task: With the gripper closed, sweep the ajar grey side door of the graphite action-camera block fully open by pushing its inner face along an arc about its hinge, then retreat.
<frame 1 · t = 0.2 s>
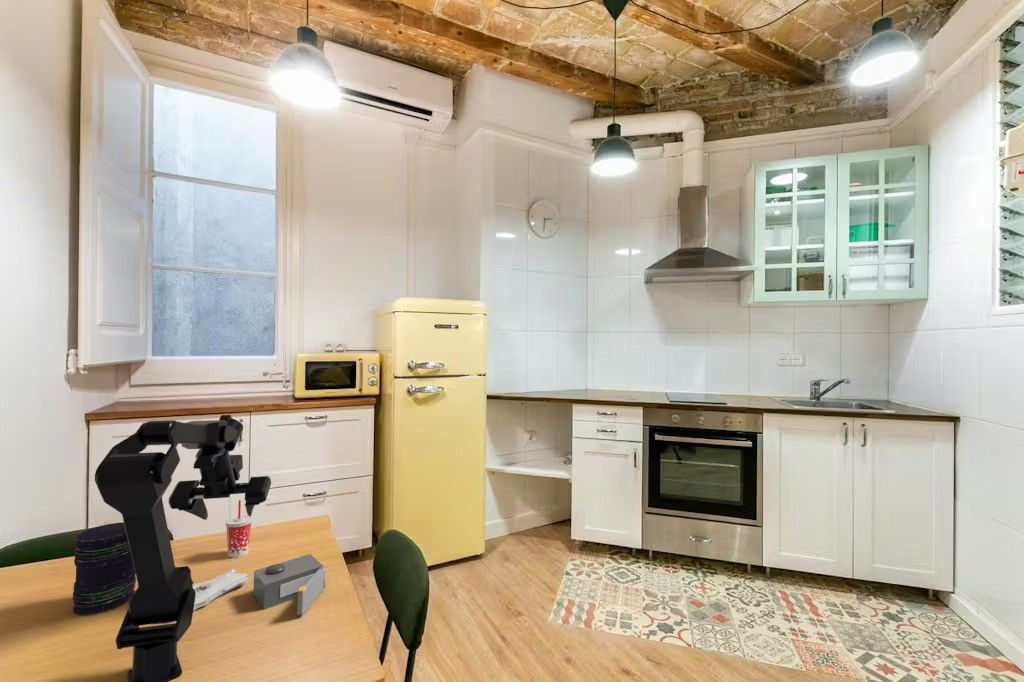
hand: (228, 516, 103), 15 cm above the table, tool tilted 30°, fingers open, 9 cm apart
dark blue cylinder: (104, 603, 93), on the table
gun: (196, 602, 95), on the table
beverage cup: (238, 554, 116), on the table
side door: (312, 588, 94), point 3 cm above the table, hinge at 45.0°
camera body: (288, 590, 98), on the table
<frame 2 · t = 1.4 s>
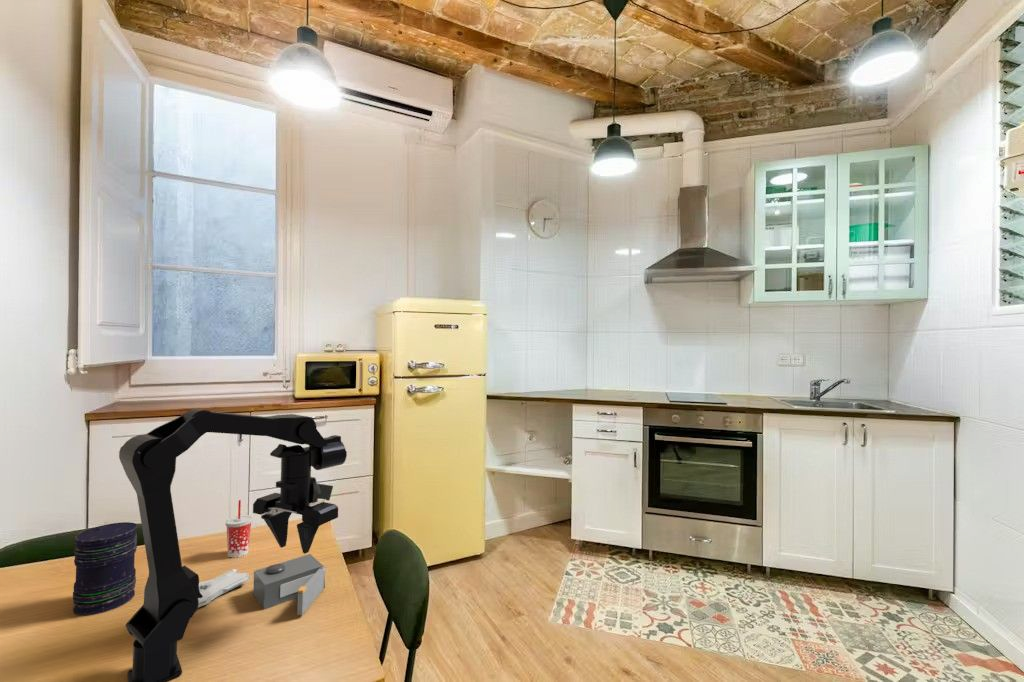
hand: (294, 549, 92), 12 cm above the table, tool pointing down, fingers open, 6 cm apart
nothing on the table moved.
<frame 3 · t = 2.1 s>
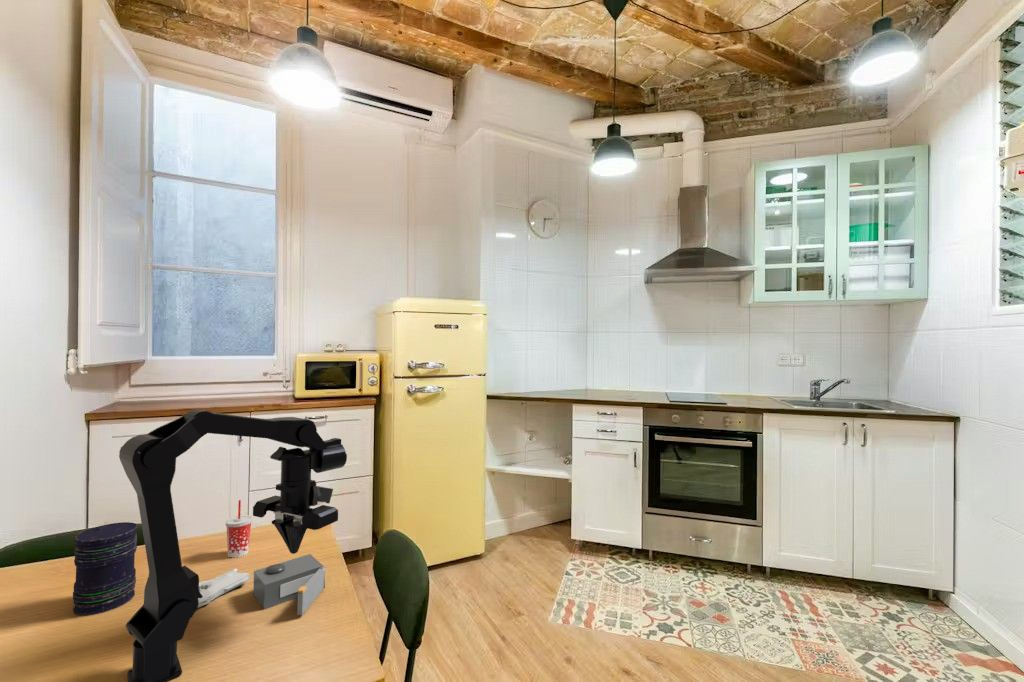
hand: (294, 552, 92), 11 cm above the table, tool pointing down, fingers closed
nothing on the table moved.
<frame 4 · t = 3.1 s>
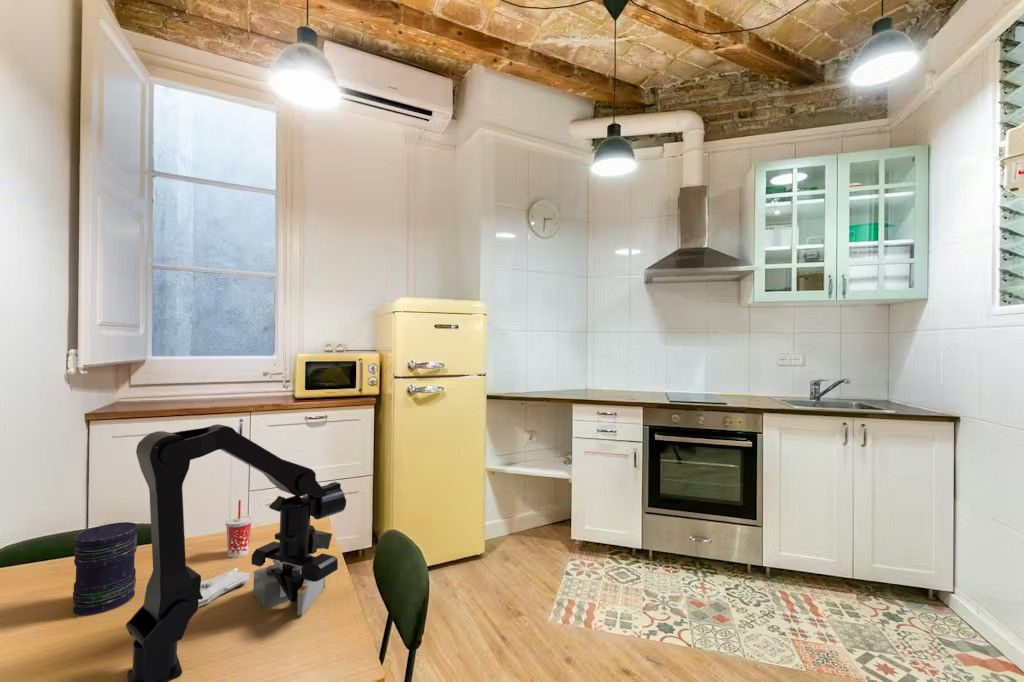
hand: (293, 601, 92), 1 cm above the table, tool pointing down, fingers closed
side door: (312, 588, 94), point 3 cm above the table, hinge at 45.1°, touching gripper
everything else where it was.
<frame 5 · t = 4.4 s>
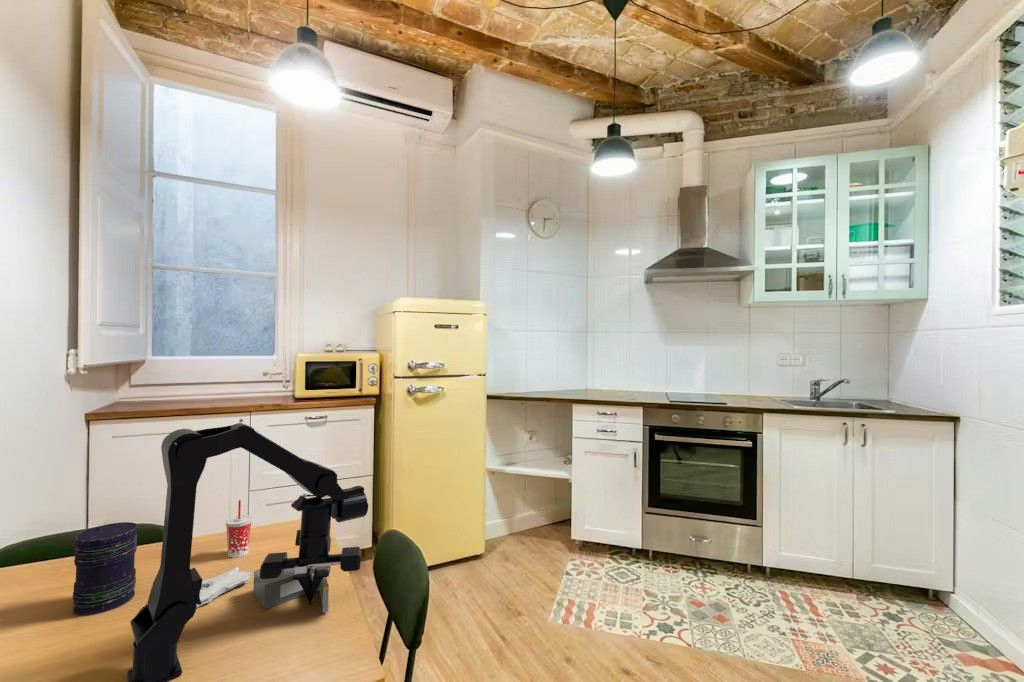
hand: (310, 604, 91), 1 cm above the table, tool pointing down, fingers closed
side door: (323, 587, 95), point 3 cm above the table, hinge at 72.4°, touching gripper
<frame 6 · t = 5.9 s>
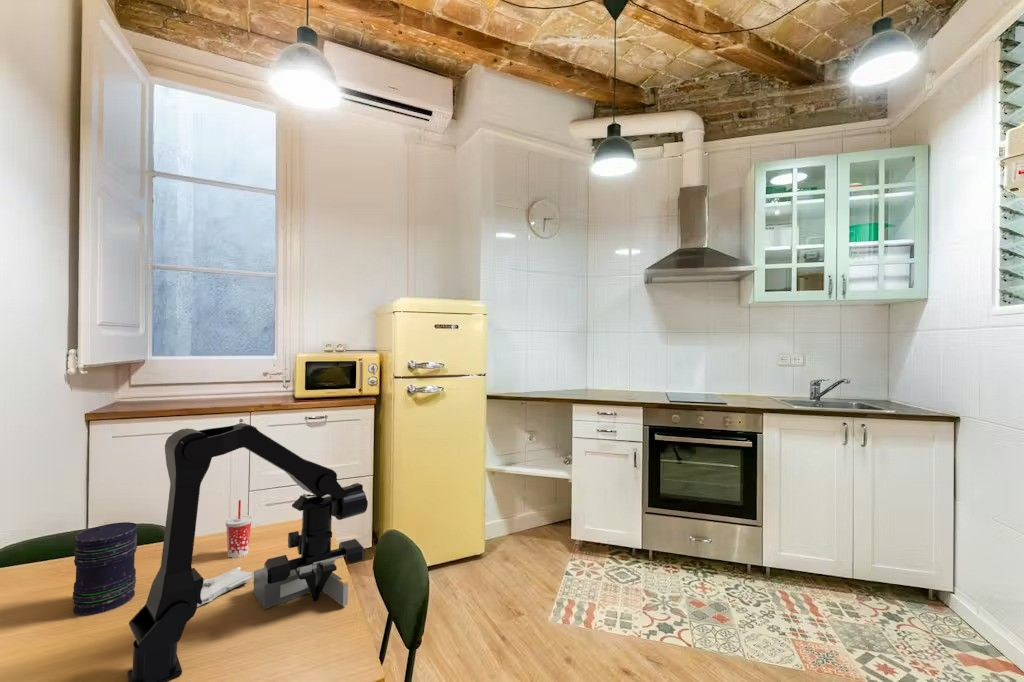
hand: (314, 600, 93), 1 cm above the table, tool pointing down, fingers closed
side door: (332, 584, 96), point 3 cm above the table, hinge at 95.0°
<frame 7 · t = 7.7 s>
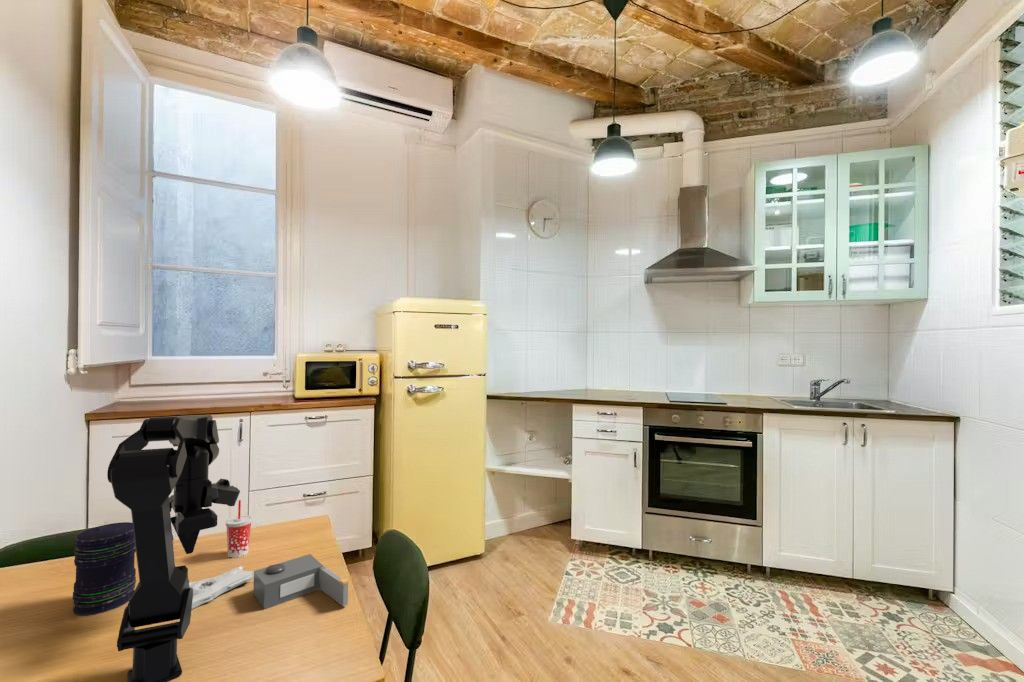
hand: (189, 552, 90), 12 cm above the table, tool pointing down, fingers closed
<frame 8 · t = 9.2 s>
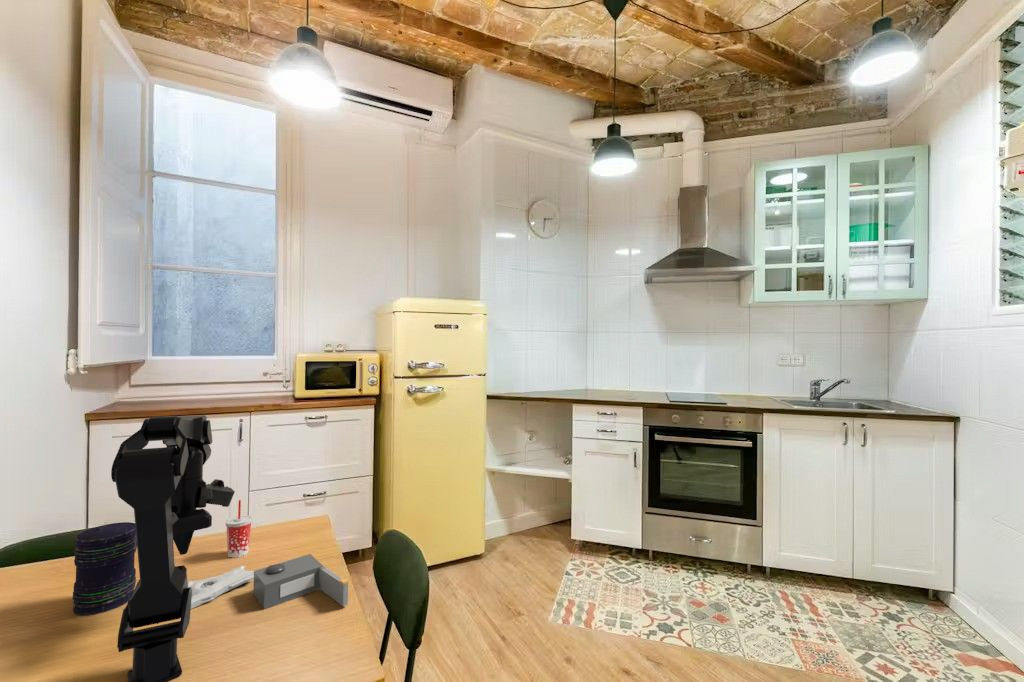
hand: (183, 553, 90), 12 cm above the table, tool pointing down, fingers closed
at the end: side door at +95° (first picture: +45°) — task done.
